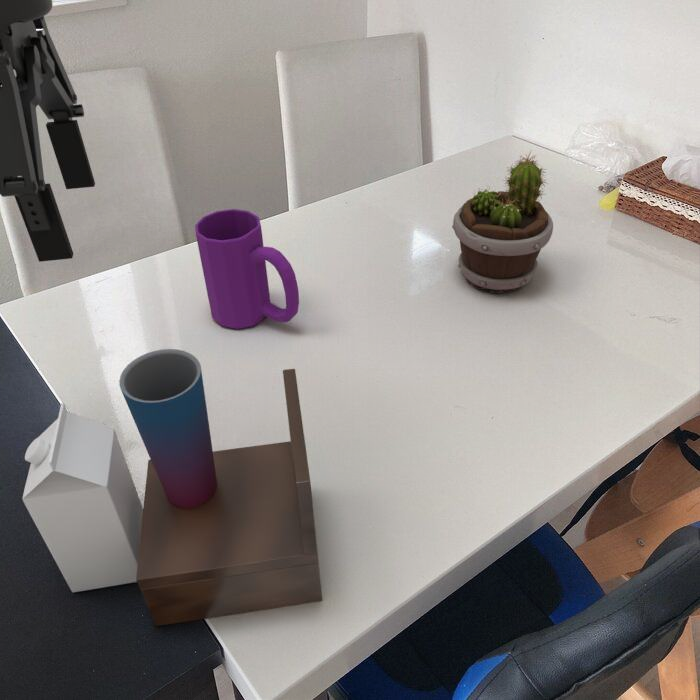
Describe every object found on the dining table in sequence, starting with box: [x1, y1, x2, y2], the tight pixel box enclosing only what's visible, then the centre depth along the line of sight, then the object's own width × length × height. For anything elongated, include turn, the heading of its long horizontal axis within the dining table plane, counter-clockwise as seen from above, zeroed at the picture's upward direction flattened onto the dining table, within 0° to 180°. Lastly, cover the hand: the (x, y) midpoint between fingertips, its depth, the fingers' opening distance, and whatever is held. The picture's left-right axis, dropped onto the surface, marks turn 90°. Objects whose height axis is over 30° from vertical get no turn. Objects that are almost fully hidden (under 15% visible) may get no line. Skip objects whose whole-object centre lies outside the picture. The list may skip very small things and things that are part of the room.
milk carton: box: [22, 402, 144, 593], centre depth 64 cm, size 7×7×19 cm
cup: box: [118, 348, 217, 508], centre depth 62 cm, size 7×7×15 cm
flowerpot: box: [451, 150, 554, 294], centre depth 102 cm, size 14×15×20 cm
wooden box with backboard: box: [136, 368, 323, 627], centre depth 65 cm, size 16×14×18 cm
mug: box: [194, 208, 300, 330], centre depth 97 cm, size 9×16×15 cm, turn 58°
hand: (69, 219), depth 63 cm, fingers open, 13 cm apart
